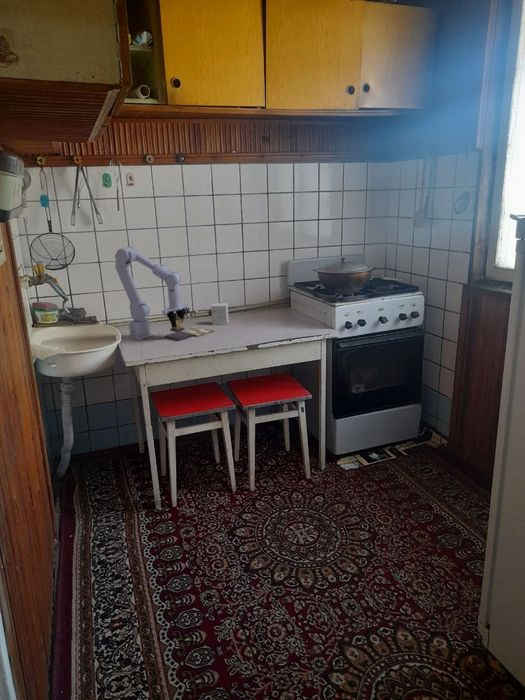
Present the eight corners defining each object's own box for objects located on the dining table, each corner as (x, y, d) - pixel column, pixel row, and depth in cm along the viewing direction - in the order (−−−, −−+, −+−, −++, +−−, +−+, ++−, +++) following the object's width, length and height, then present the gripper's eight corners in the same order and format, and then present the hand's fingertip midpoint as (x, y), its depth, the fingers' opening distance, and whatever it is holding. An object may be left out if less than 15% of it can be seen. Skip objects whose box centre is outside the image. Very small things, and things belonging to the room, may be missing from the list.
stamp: (176, 332, 238) (175, 318, 236) (170, 330, 241) (168, 317, 239) (184, 329, 242) (183, 316, 240) (178, 328, 245) (176, 315, 243)
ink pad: (178, 341, 236) (178, 339, 236) (163, 337, 243) (163, 335, 242) (192, 336, 243) (192, 334, 242) (177, 333, 249) (177, 331, 249)
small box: (228, 322, 268) (227, 303, 265) (227, 324, 263) (226, 305, 260) (214, 322, 269) (213, 303, 266) (212, 324, 264) (211, 305, 260)
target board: (197, 336, 242) (197, 335, 242) (179, 332, 250) (179, 331, 250) (214, 331, 250) (214, 330, 250) (195, 327, 259) (195, 326, 258)
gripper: (168, 302, 229) (171, 330, 233) (191, 296, 240) (193, 323, 244) (158, 300, 233) (161, 328, 237) (181, 295, 244) (184, 321, 248)
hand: (177, 325), depth 241 cm, fingers closed on stamp, 4 cm apart
